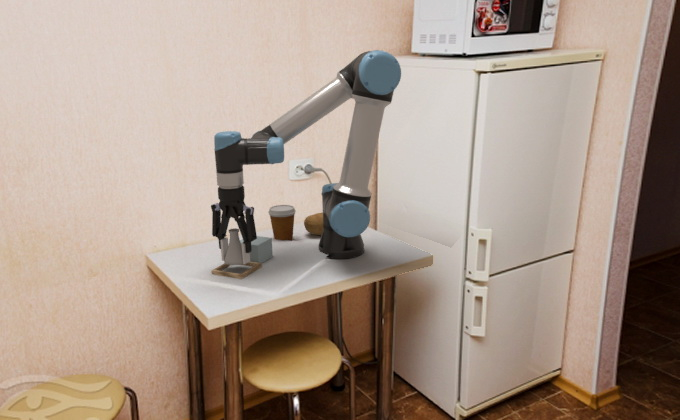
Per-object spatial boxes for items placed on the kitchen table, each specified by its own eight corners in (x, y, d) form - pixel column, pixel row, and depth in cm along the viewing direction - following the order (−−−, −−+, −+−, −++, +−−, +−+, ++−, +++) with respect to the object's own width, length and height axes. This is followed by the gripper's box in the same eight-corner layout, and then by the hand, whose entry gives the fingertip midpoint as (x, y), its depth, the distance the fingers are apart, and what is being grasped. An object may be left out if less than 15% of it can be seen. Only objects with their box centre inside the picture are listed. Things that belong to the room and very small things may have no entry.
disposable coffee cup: (296, 244, 196) (294, 211, 192) (268, 245, 196) (266, 211, 192) (298, 236, 205) (296, 204, 202) (271, 236, 205) (269, 204, 202)
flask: (251, 257, 172) (249, 226, 169) (244, 266, 165) (242, 233, 162) (228, 257, 173) (225, 226, 170) (220, 265, 166) (217, 233, 163)
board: (279, 260, 181) (278, 247, 180) (242, 283, 163) (241, 269, 162) (232, 253, 188) (231, 241, 187) (192, 274, 171) (191, 261, 169)
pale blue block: (272, 256, 181) (271, 237, 179) (258, 264, 174) (257, 245, 172) (251, 253, 184) (250, 235, 183) (237, 261, 177) (235, 242, 176)
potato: (344, 232, 208) (344, 211, 206) (316, 241, 199) (316, 219, 197) (325, 227, 215) (325, 206, 213) (298, 235, 205) (297, 214, 203)
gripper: (267, 185, 162) (271, 261, 168) (211, 180, 170) (216, 252, 176) (252, 191, 155) (257, 269, 161) (194, 185, 164) (201, 260, 170)
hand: (236, 260), depth 169 cm, fingers closed on flask, 7 cm apart
